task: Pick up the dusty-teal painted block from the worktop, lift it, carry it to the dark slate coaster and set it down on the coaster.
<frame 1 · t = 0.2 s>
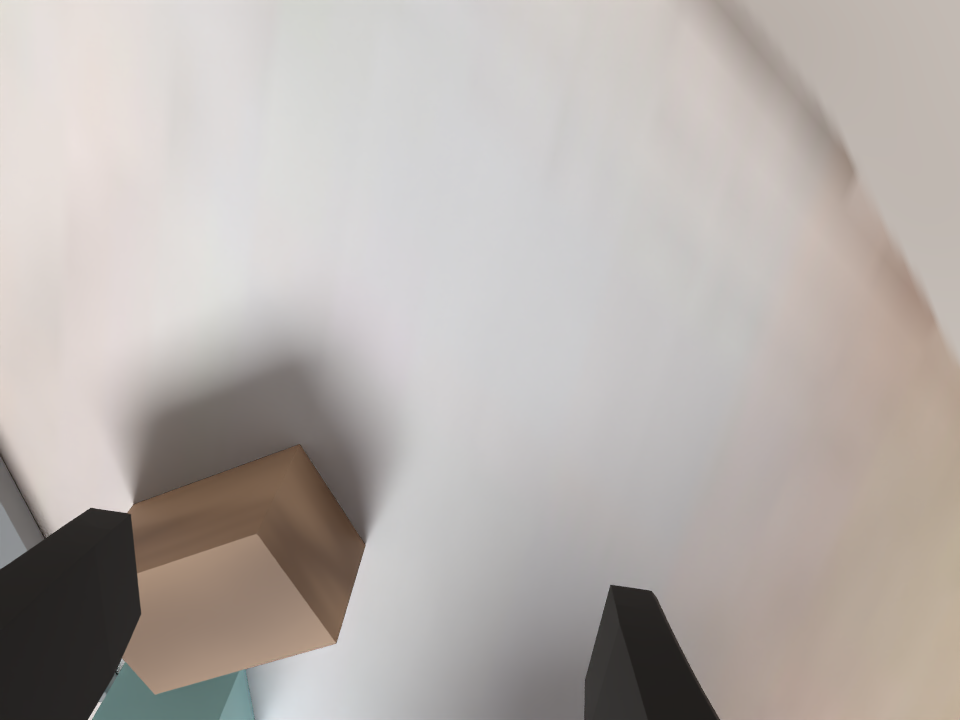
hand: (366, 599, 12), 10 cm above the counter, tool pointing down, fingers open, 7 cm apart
teal block: (196, 695, 29), on the counter
walnut block: (251, 522, 25), on the counter
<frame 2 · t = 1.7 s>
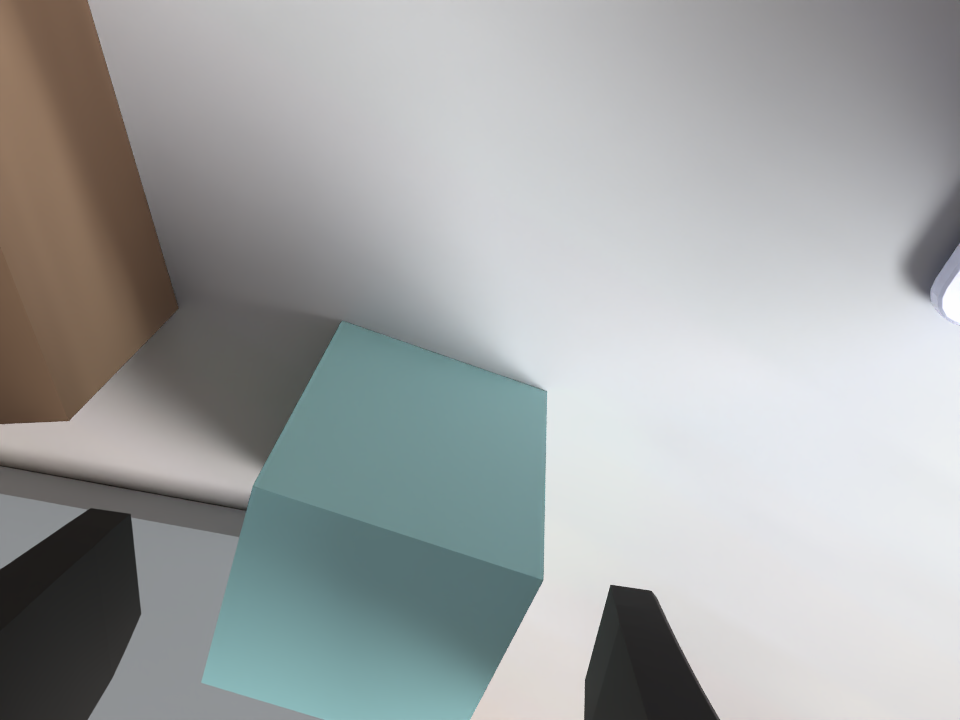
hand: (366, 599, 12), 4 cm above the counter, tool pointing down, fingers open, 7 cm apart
slate coaster: (109, 663, 20), on the counter
teal block: (414, 439, 16), on the counter
walnut block: (24, 152, 14), on the counter
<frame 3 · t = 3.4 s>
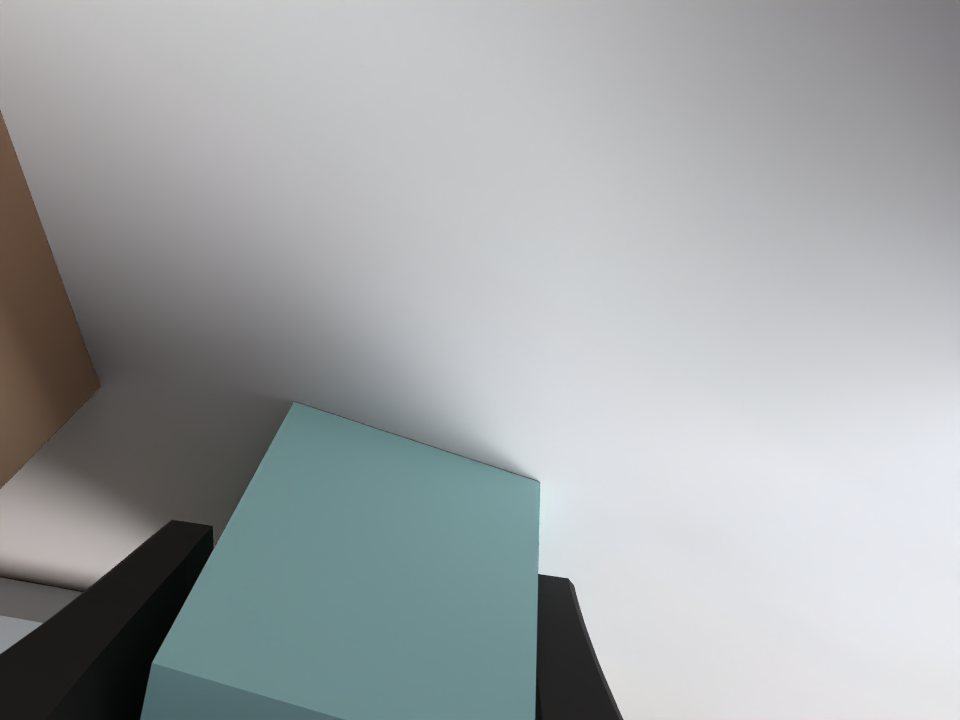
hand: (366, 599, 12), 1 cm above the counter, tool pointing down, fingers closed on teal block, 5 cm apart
teal block: (383, 536, 13), on the counter, touching gripper
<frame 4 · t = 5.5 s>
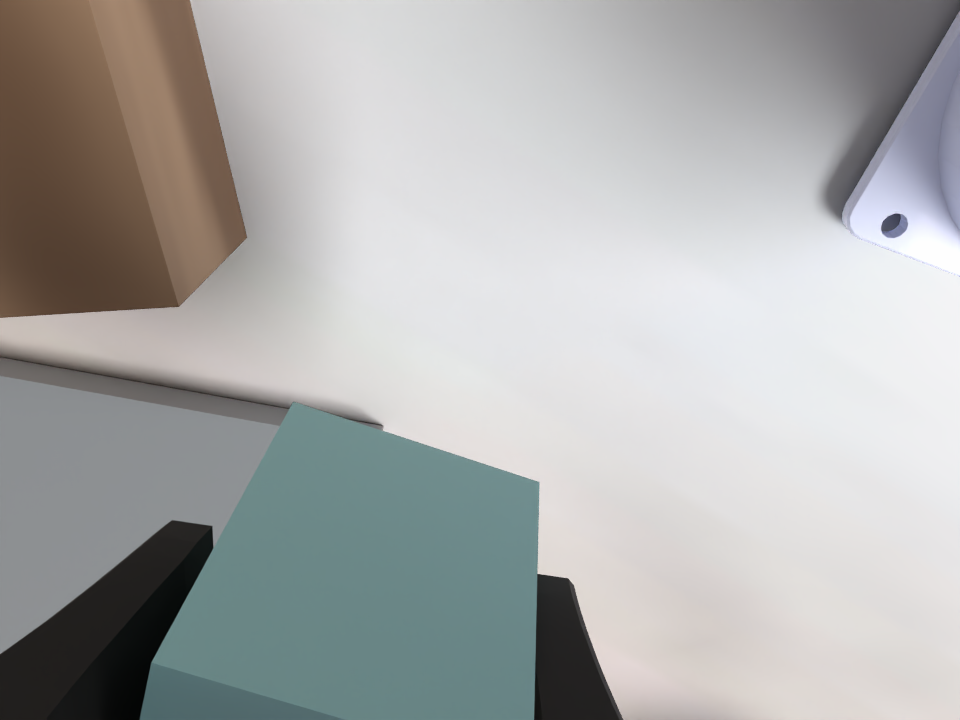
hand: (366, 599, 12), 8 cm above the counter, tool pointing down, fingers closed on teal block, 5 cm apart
slate coaster: (174, 550, 23), on the counter
teal block: (383, 535, 14), point 7 cm above the counter, touching gripper
walnut block: (128, 109, 18), on the counter
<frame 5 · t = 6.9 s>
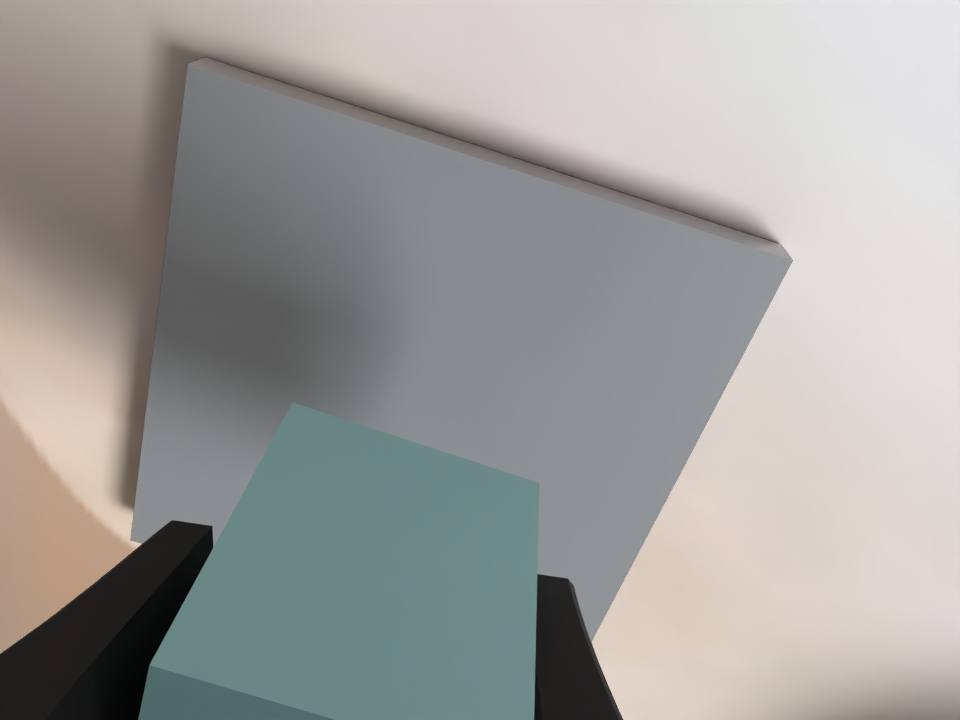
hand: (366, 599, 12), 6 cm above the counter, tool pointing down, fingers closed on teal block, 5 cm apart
slate coaster: (423, 398, 17), on the counter
teal block: (382, 537, 13), point 4 cm above the counter, touching gripper
when the fingers open (3 cm above the counter, at t = 7.8 s): teal block drops 1 cm, resting on slate coaster.
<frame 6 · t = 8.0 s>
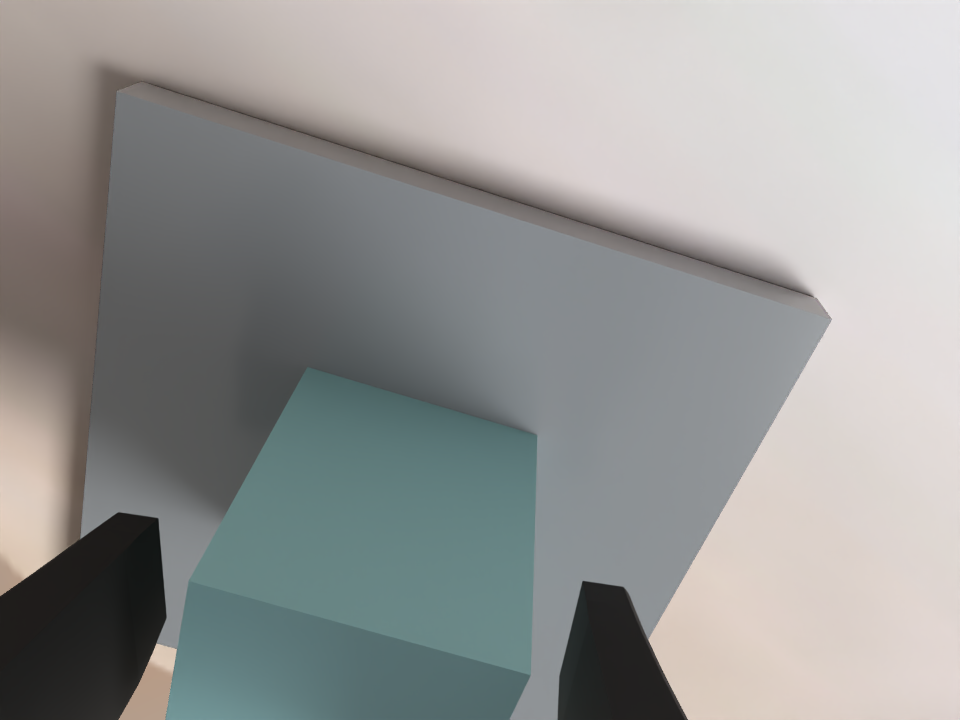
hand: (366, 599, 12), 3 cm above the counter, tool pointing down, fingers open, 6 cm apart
slate coaster: (402, 466, 15), on the counter
teal block: (395, 492, 15), point 1 cm above the counter, touching slate coaster
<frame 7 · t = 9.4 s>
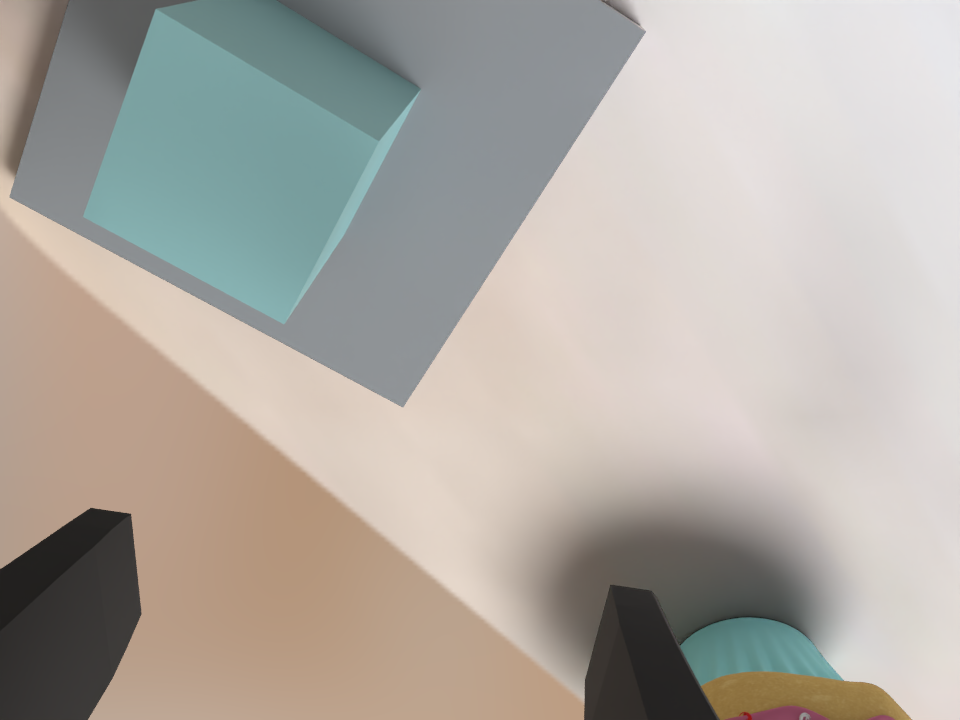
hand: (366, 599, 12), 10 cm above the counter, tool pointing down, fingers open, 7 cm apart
cupcake: (746, 662, 27), on the counter
slate coaster: (312, 113, 19), on the counter
teal block: (302, 120, 19), point 1 cm above the counter, touching slate coaster
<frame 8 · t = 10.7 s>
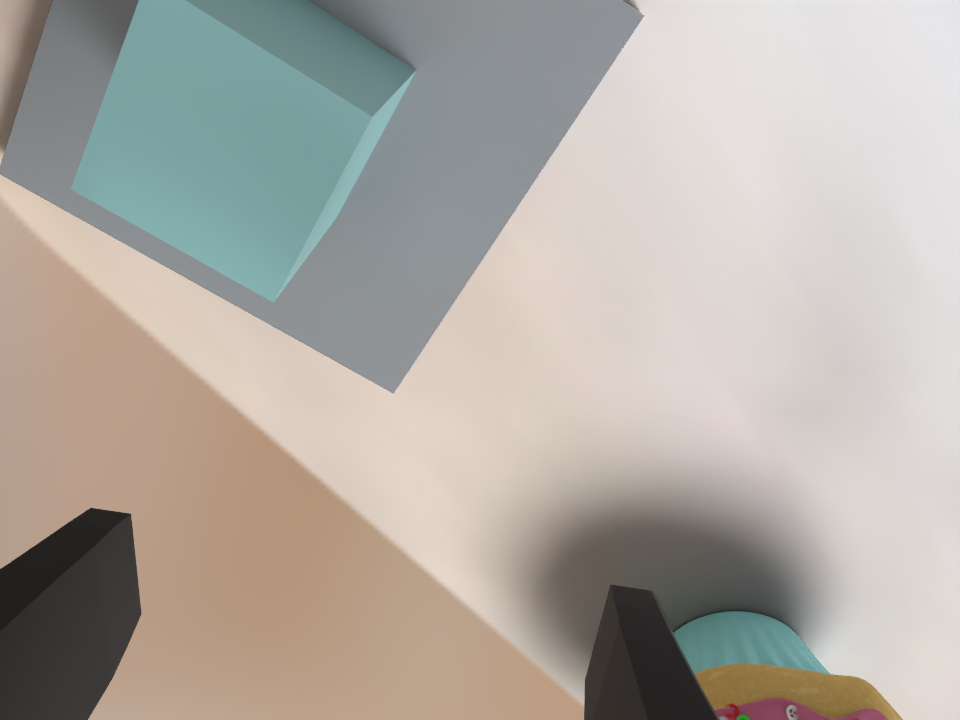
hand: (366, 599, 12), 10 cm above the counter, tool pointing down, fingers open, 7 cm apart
cupcake: (733, 656, 27), on the counter
slate coaster: (306, 93, 19), on the counter
teal block: (296, 99, 18), point 1 cm above the counter, touching slate coaster
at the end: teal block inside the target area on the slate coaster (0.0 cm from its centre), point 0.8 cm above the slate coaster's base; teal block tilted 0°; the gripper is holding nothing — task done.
